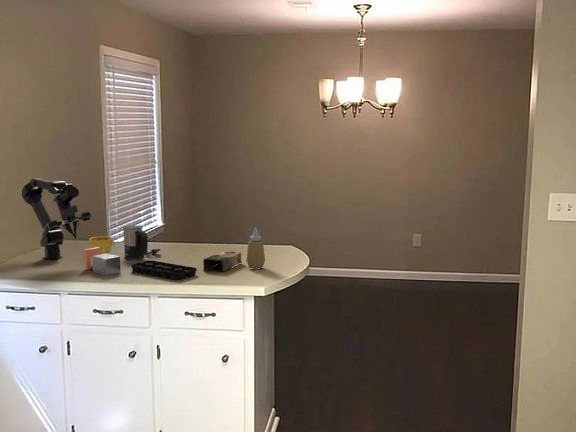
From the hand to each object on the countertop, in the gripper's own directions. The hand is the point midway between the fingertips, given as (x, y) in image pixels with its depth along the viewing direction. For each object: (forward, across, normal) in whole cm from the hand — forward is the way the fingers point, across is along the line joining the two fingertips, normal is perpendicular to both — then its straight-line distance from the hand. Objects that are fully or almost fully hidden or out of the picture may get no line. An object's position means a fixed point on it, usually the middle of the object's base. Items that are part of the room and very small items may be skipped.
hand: (75, 238), depth 303 cm
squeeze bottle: (+44, +66, -24) cm, 82 cm away
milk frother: (+15, +27, +13) cm, 33 cm away
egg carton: (+32, +27, -21) cm, 48 cm away
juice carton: (+38, +54, -18) cm, 68 cm away
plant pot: (+10, +9, +14) cm, 19 cm away
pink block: (+19, +4, -8) cm, 21 cm away
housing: (+22, +7, -13) cm, 26 cm away
